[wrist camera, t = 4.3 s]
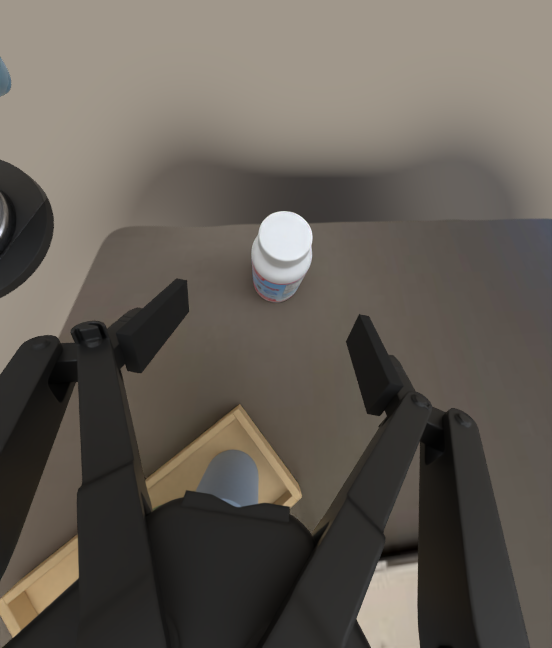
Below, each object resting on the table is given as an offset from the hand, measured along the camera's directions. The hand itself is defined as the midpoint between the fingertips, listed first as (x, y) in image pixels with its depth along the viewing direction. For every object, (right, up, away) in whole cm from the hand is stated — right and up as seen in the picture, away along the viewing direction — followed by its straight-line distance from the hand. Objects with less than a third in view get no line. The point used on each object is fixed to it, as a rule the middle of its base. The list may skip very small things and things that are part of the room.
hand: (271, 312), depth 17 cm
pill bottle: (0, +5, +13) cm, 14 cm away
